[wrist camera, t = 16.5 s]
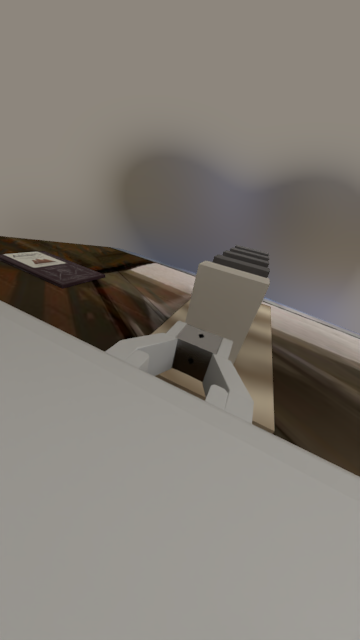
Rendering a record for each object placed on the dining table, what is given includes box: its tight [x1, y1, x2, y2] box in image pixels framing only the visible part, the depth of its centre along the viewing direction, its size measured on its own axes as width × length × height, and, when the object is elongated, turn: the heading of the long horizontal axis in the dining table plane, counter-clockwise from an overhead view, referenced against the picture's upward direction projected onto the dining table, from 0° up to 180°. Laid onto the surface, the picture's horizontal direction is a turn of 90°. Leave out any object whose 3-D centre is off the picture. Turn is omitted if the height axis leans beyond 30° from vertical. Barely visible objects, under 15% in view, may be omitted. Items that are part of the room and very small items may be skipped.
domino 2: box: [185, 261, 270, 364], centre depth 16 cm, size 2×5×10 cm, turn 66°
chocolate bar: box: [0, 251, 105, 288], centre depth 36 cm, size 9×1×18 cm
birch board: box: [151, 299, 274, 434], centre depth 28 cm, size 28×14×1 cm, turn 156°
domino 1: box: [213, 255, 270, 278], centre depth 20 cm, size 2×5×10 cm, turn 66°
